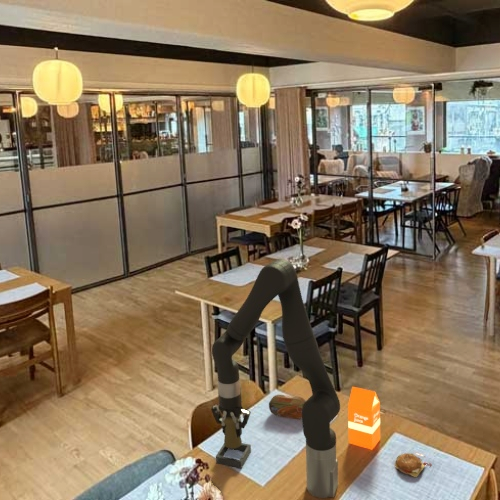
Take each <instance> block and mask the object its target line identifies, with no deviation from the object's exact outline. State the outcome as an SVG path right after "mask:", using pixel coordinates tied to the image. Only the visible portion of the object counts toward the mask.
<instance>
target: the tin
mask: <svg viewBox="0 0 500 500" xmlns="http://www.w3.org/2000/svg"><path fill="white" fill-rule="evenodd" d="M306 401H307V400H305V399H304V397H300V396H297V395H296V396H295V395H285V394H276V395H274V396H273V397H272V398H271V399H270V401H269V403H268V408H269V411H270V412H271V414H273V415H274V416H276V417H279V418H286V419H294V420H302V407H303V404H304V403H305V402H306Z"/></svg>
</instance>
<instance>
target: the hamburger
mask: <svg viewBox="0 0 500 500" xmlns="http://www.w3.org/2000/svg"><path fill="white" fill-rule="evenodd" d="M418 455H419V456H421V457H425V458H426V456H425V455H423V454H419V453H418ZM426 464H427V465H428V466H429V468H430V467H431V468H432V463H430V462H423V460H422V458H420V457H418V456H417V452H415V453H414V454H413V453H406V452H405V453H402V454H400V455H398V456H397V457H396V460H395V463H394V467H395V466H396V467H395V469H397V470H399V471H400V472H401V473H403V474H405V475H408V474H409V476H412V477H414V478H417V477H418V476H419V475H420V473H421V472H422V471H423V470H424V468H425V467H426V466H427V465H426ZM425 465H426V466H425Z"/></svg>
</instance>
